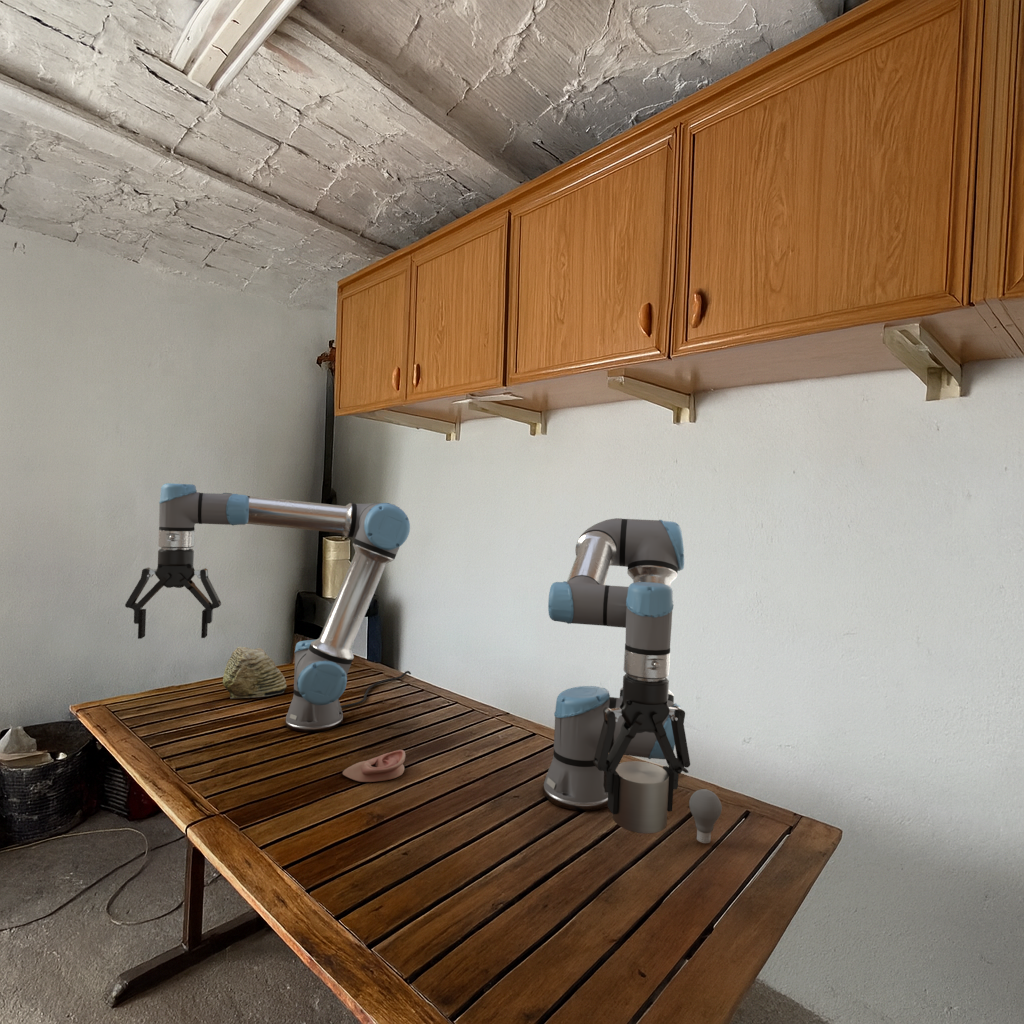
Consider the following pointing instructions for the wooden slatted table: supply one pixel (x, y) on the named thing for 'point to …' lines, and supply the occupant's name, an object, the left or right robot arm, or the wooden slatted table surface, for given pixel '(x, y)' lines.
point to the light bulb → (705, 812)
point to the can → (642, 797)
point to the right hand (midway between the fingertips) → (639, 808)
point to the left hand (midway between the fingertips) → (173, 637)
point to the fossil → (252, 674)
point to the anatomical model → (377, 768)
